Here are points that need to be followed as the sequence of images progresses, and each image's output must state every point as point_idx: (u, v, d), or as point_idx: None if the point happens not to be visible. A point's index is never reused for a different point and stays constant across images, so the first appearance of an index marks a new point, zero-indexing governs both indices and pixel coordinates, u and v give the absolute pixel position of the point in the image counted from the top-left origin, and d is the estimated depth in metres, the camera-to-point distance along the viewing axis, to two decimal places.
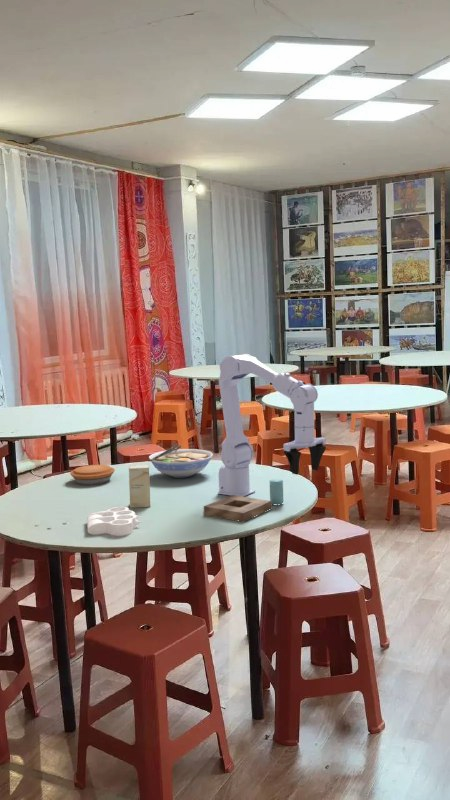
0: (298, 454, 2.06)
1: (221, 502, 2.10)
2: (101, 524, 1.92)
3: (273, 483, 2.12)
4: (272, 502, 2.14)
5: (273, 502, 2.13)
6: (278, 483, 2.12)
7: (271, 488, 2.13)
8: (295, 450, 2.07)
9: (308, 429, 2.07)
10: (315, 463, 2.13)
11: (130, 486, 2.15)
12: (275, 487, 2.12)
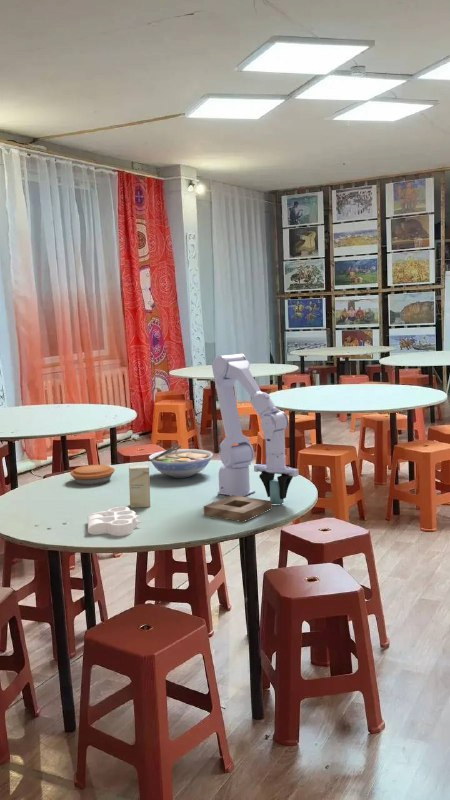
0: (262, 477, 2.14)
1: (221, 502, 2.10)
2: (101, 525, 1.92)
3: (273, 483, 2.12)
4: (272, 502, 2.14)
5: (273, 502, 2.13)
6: (278, 483, 2.12)
7: (271, 488, 2.13)
8: (266, 473, 2.15)
9: (268, 455, 2.11)
10: None
11: (130, 486, 2.15)
12: (275, 487, 2.12)
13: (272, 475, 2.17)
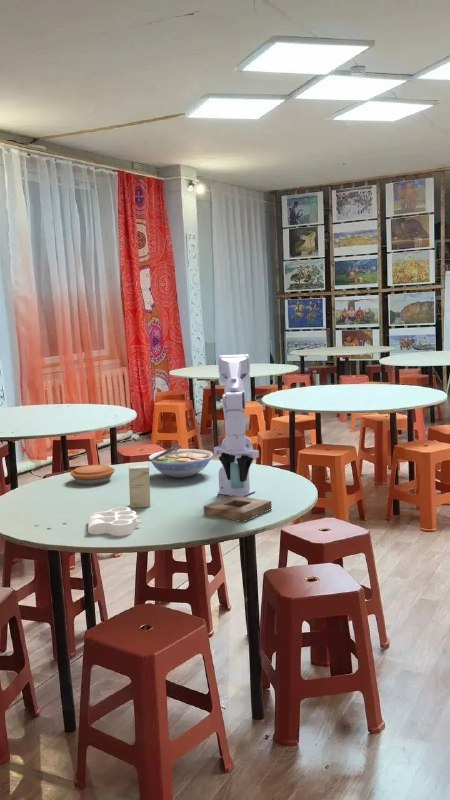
0: (222, 459, 2.05)
1: (221, 502, 2.10)
2: (101, 525, 1.92)
3: (233, 465, 2.04)
4: (232, 485, 2.05)
5: (233, 485, 2.05)
6: None
7: (231, 470, 2.05)
8: (226, 455, 2.06)
9: (227, 436, 2.03)
10: None
11: (130, 486, 2.15)
12: (235, 469, 2.04)
13: (233, 458, 2.08)
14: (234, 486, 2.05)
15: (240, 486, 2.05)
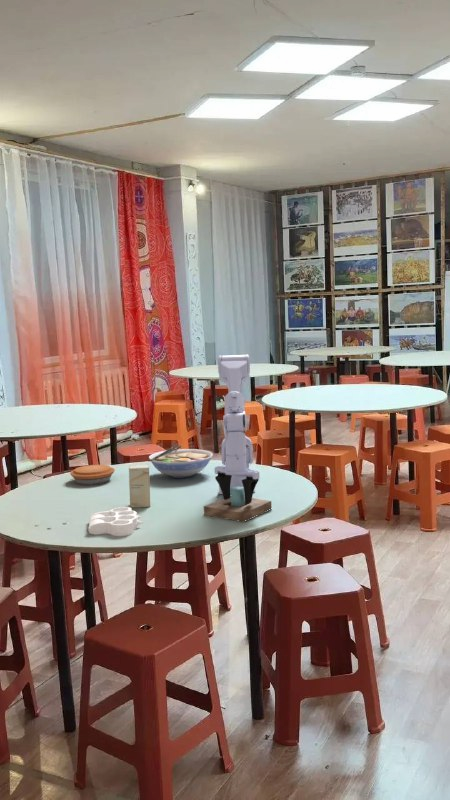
0: (218, 479, 2.07)
1: (221, 502, 2.10)
2: (101, 525, 1.92)
3: (233, 491, 2.05)
4: None
5: None
6: (238, 491, 2.05)
7: (232, 496, 2.06)
8: (223, 475, 2.08)
9: (228, 457, 2.04)
10: None
11: (130, 486, 2.15)
12: (235, 495, 2.05)
13: (229, 477, 2.10)
14: None
15: None
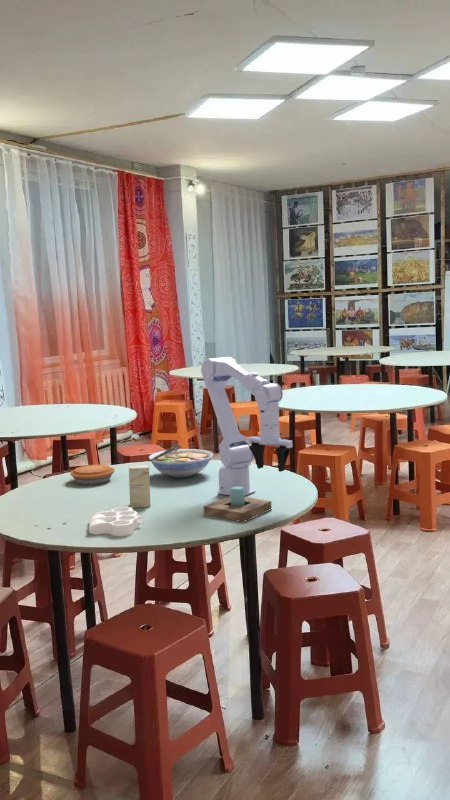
0: (252, 448, 2.14)
1: (221, 502, 2.10)
2: (102, 525, 1.92)
3: (233, 491, 2.05)
4: None
5: None
6: (238, 491, 2.05)
7: (231, 496, 2.06)
8: (256, 445, 2.15)
9: (262, 427, 2.11)
10: None
11: (130, 486, 2.15)
12: (235, 495, 2.05)
13: (263, 447, 2.17)
14: None
15: None
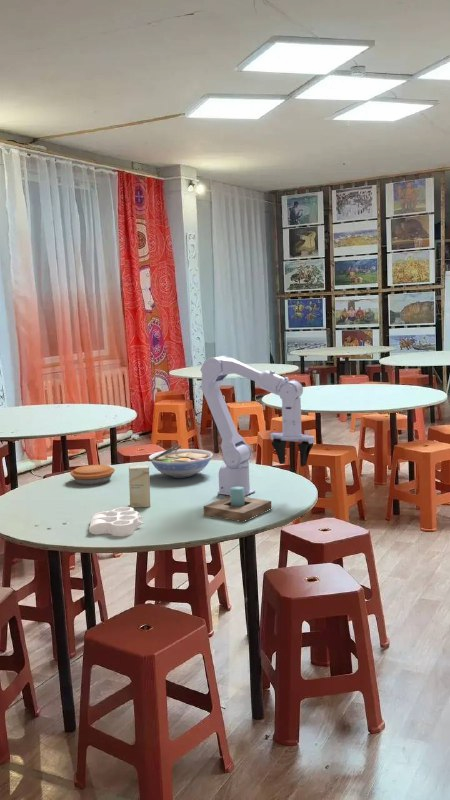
0: (275, 444, 2.19)
1: (221, 502, 2.10)
2: (102, 525, 1.92)
3: (233, 491, 2.05)
4: None
5: None
6: (238, 491, 2.05)
7: (231, 496, 2.06)
8: (278, 440, 2.20)
9: (284, 423, 2.16)
10: None
11: (130, 486, 2.15)
12: (235, 495, 2.05)
13: (284, 443, 2.22)
14: None
15: None
